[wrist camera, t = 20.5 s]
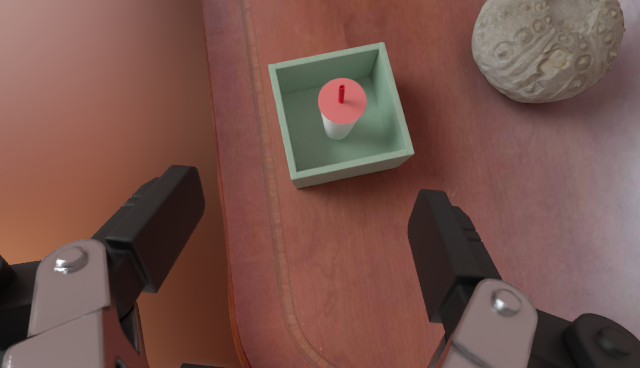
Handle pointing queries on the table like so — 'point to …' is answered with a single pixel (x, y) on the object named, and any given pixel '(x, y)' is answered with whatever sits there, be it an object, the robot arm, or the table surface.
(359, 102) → the cup
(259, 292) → the table surface
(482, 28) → the decorative shell
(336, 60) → the bin
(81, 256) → the robot arm
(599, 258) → the table surface
